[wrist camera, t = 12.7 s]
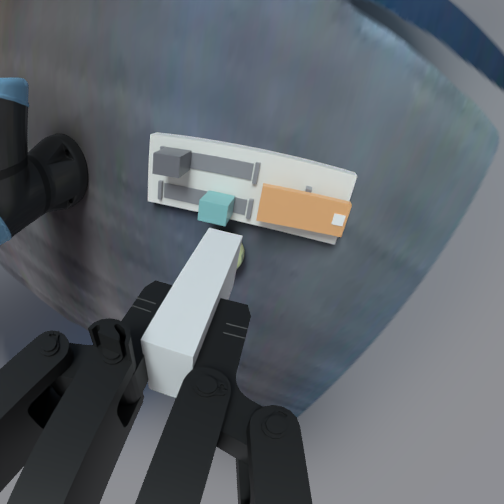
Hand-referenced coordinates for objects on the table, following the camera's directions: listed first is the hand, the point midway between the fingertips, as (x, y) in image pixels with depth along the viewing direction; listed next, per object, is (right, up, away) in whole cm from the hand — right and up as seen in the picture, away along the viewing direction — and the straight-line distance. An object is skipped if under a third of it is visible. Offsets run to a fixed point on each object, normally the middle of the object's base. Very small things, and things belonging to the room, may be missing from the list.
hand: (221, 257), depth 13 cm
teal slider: (-3, +7, +29) cm, 30 cm away
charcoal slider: (-9, +14, +27) cm, 32 cm away
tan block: (+8, +6, +25) cm, 27 cm away
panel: (0, +10, +29) cm, 31 cm away
